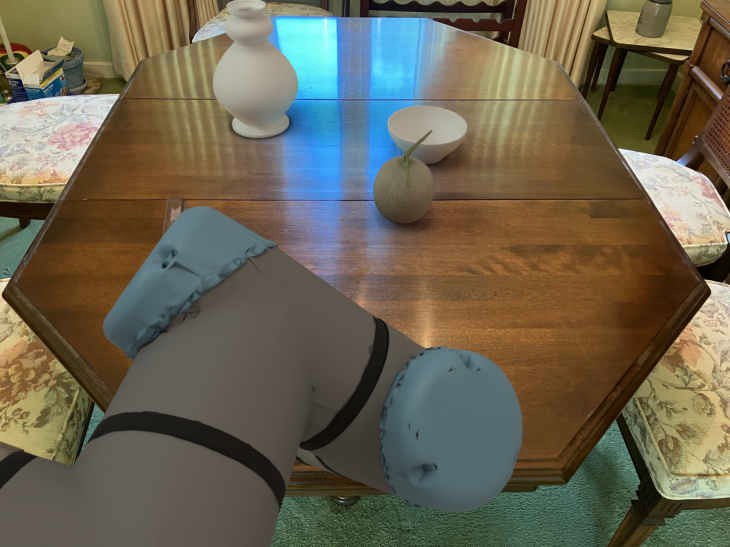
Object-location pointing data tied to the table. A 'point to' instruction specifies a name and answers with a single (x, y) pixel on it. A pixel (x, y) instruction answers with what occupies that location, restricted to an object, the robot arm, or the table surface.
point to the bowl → (418, 122)
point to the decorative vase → (254, 74)
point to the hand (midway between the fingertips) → (232, 397)
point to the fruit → (403, 188)
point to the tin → (173, 211)
